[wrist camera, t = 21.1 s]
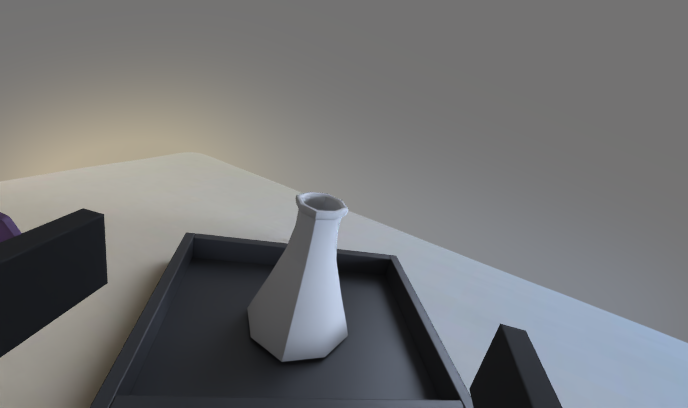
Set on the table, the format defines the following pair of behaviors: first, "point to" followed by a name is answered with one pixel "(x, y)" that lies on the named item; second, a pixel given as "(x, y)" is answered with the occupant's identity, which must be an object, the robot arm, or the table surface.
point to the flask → (303, 287)
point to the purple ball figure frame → (7, 228)
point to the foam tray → (258, 363)
